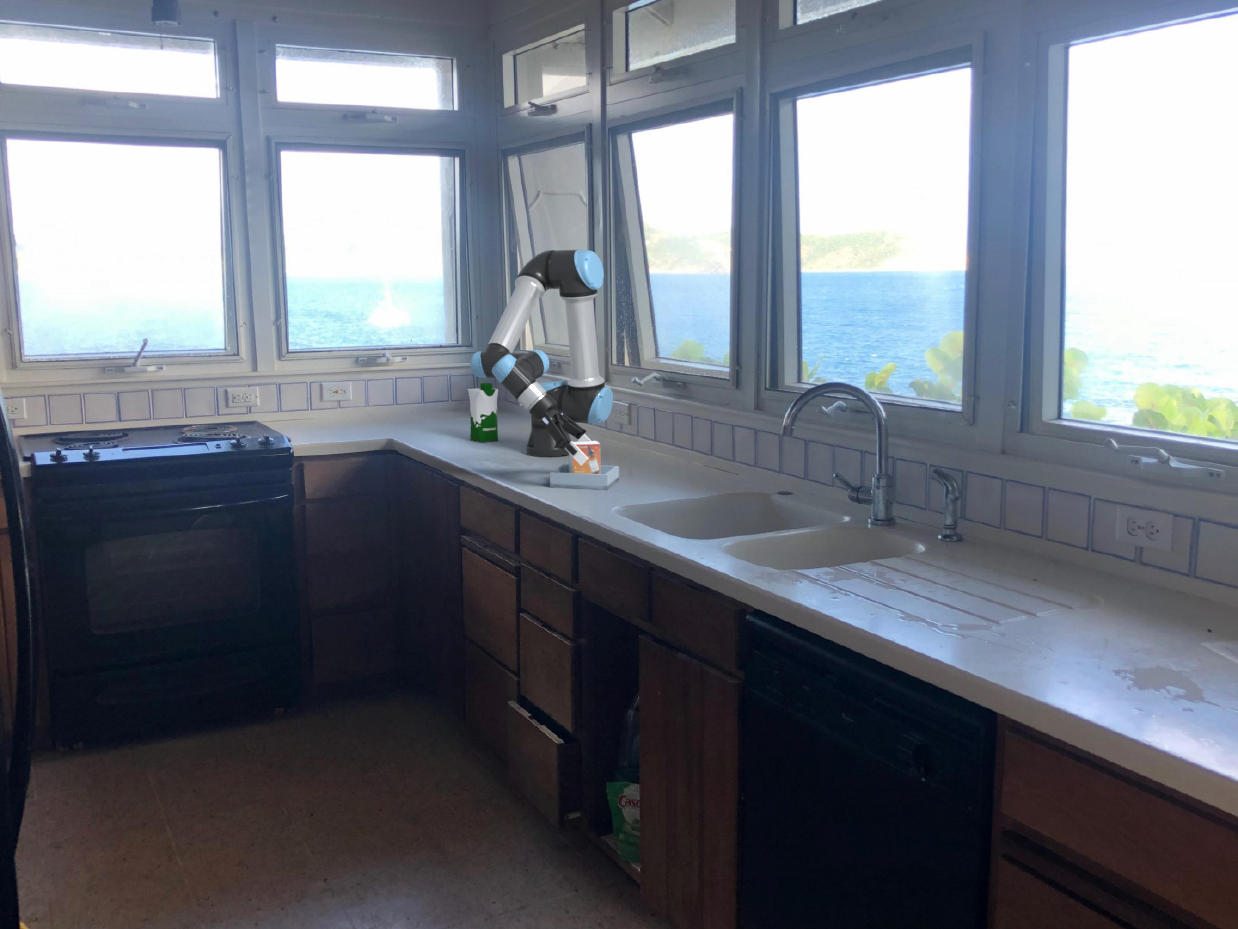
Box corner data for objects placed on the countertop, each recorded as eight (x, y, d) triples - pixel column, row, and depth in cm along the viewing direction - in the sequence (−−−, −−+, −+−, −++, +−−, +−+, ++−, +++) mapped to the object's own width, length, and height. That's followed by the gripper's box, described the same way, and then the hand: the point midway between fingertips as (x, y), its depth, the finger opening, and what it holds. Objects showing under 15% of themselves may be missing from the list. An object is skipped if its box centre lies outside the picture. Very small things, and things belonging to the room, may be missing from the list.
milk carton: (480, 443, 369) (479, 384, 366) (466, 440, 376) (464, 382, 372) (501, 440, 375) (500, 383, 371) (487, 437, 381) (486, 381, 378)
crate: (564, 477, 307) (563, 464, 306) (618, 480, 303) (618, 466, 302) (550, 487, 293) (549, 472, 292) (607, 489, 290) (607, 475, 289)
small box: (572, 482, 295) (571, 444, 293) (568, 478, 300) (568, 441, 298) (600, 481, 296) (600, 443, 295) (596, 477, 302) (596, 440, 300)
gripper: (541, 406, 310) (592, 459, 310) (514, 417, 286) (569, 475, 286) (559, 388, 308) (610, 441, 307) (533, 398, 284) (589, 456, 284)
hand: (591, 458), depth 297 cm, fingers open, 13 cm apart
